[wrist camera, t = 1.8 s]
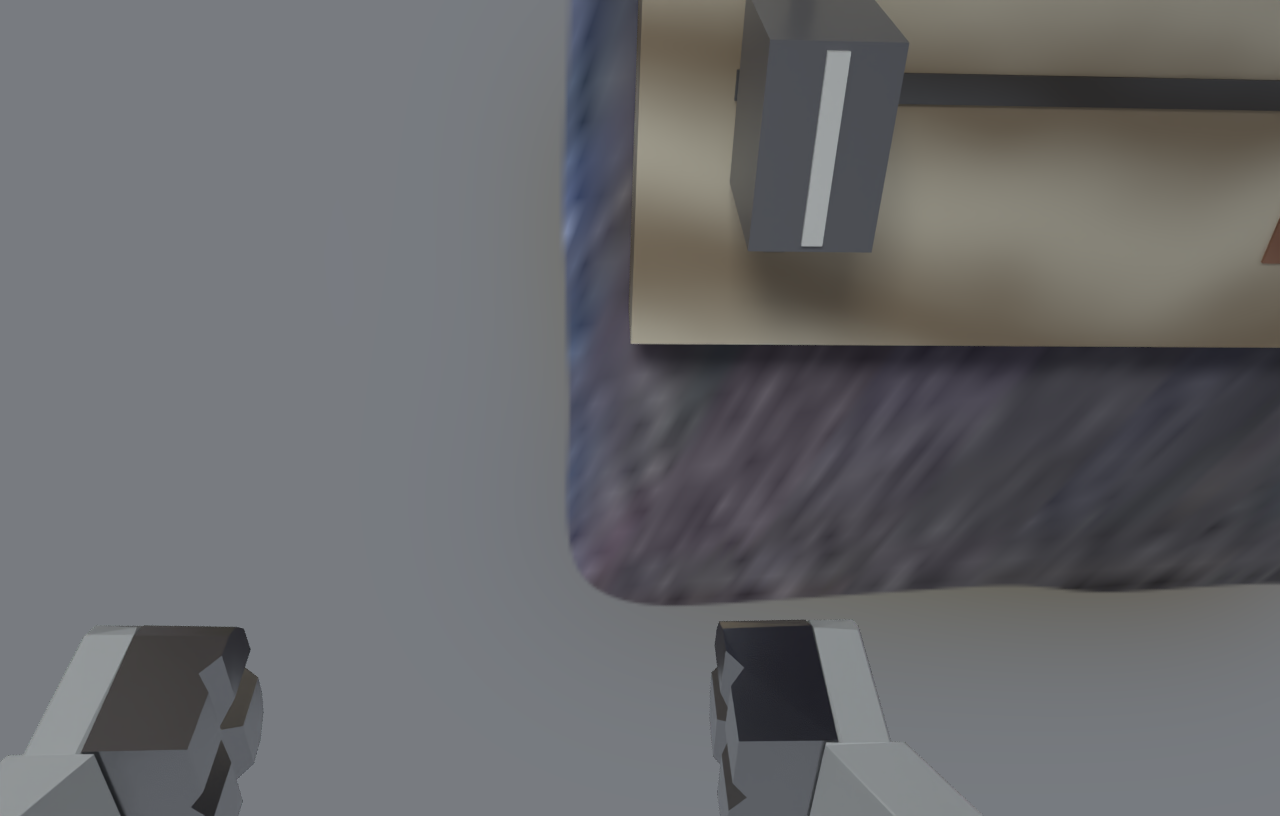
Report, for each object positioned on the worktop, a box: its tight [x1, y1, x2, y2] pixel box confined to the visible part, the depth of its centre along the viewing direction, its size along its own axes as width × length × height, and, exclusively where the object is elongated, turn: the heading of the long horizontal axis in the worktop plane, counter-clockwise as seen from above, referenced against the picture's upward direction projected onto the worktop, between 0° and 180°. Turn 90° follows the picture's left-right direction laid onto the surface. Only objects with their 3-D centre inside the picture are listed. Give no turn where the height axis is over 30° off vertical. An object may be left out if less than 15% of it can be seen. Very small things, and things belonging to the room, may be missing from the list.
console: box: [629, 0, 1280, 348], centre depth 29 cm, size 16×24×2 cm, turn 88°
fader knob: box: [730, 0, 909, 253], centre depth 25 cm, size 5×3×4 cm, turn 178°
